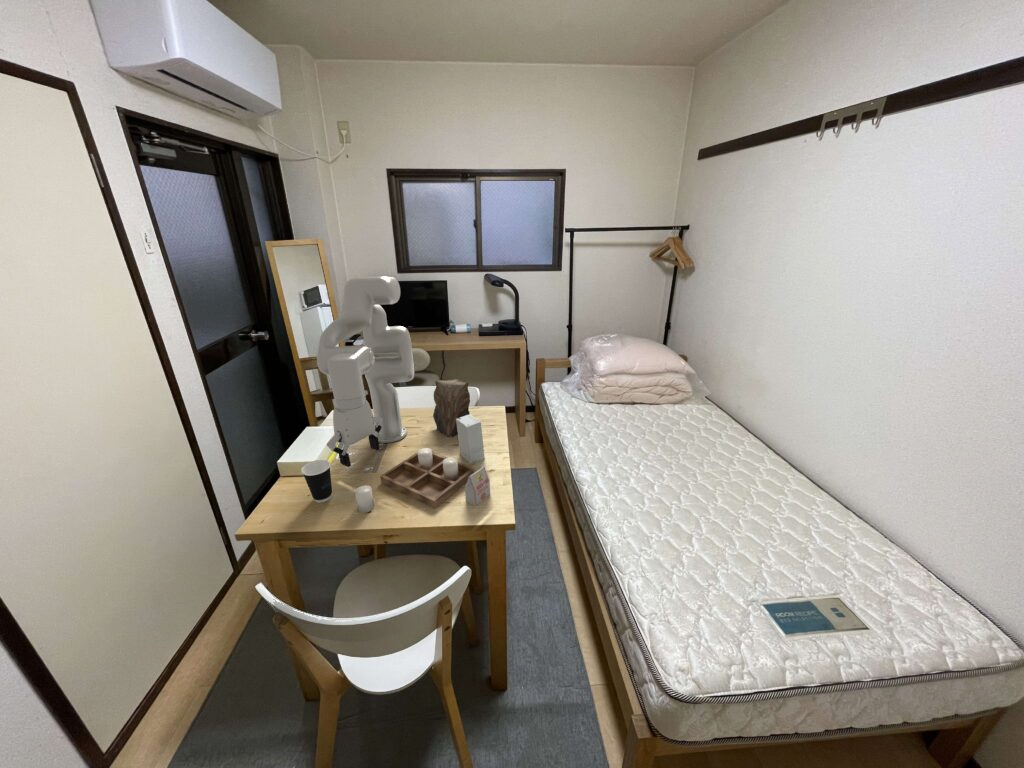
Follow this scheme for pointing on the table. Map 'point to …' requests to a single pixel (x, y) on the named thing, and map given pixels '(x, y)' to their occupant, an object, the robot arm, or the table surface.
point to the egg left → (425, 458)
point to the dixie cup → (318, 479)
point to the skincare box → (470, 438)
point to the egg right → (450, 468)
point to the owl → (450, 405)
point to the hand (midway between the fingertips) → (361, 456)
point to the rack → (425, 480)
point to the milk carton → (477, 487)
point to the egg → (364, 499)
